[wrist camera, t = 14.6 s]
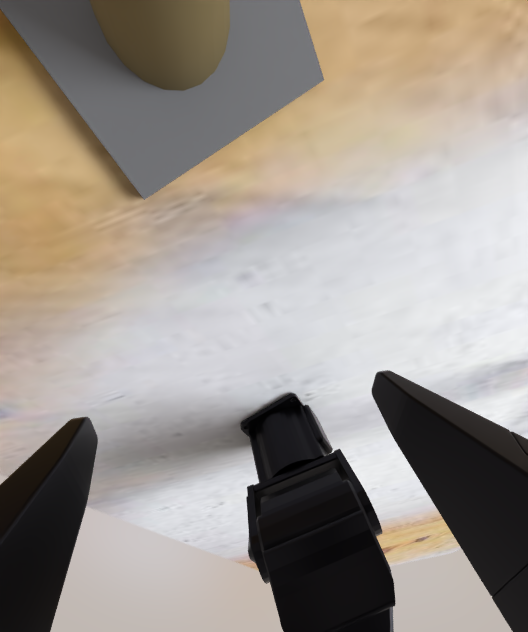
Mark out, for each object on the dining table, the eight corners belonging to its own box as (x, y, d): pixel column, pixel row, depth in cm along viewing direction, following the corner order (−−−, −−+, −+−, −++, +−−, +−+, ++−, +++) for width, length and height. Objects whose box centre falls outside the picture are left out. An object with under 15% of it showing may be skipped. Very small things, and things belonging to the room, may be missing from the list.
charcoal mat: (146, 197, 17) (144, 199, 16) (-73, -97, 10) (-97, -121, 10) (317, 84, 16) (324, 79, 15) (189, -307, 10) (189, -352, 9)
